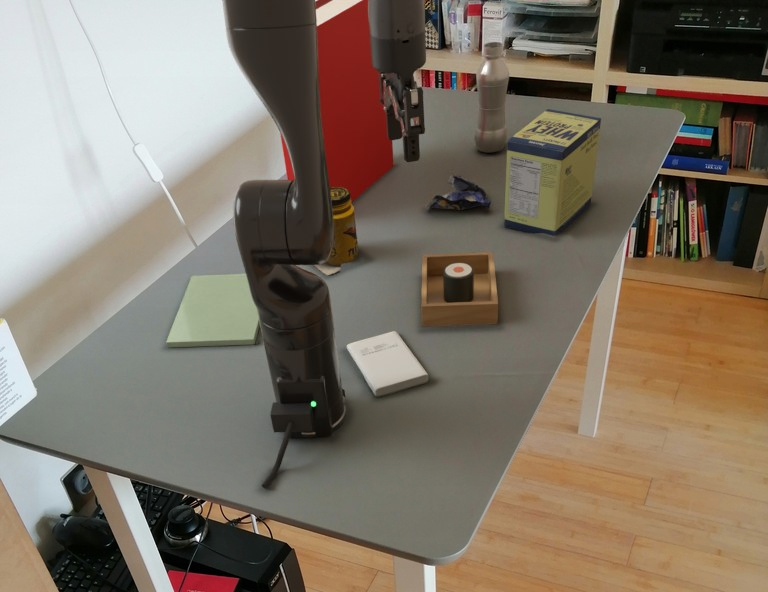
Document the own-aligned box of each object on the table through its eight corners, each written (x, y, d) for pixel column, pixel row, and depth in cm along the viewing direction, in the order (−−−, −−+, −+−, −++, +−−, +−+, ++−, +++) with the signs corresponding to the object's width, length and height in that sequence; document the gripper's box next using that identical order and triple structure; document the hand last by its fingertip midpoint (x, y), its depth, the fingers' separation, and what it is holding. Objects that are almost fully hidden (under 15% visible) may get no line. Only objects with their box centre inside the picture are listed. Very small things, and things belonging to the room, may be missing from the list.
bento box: (497, 327, 126) (498, 303, 123) (422, 330, 127) (421, 306, 124) (492, 275, 137) (492, 251, 134) (423, 278, 138) (422, 254, 135)
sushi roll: (474, 305, 130) (474, 276, 126) (443, 306, 130) (443, 277, 126) (473, 288, 133) (473, 260, 129) (443, 290, 133) (443, 262, 130)
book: (360, 160, 172) (344, -15, 149) (393, 166, 169) (382, -12, 146) (289, 218, 156) (258, 32, 133) (324, 225, 153) (299, 36, 130)
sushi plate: (254, 344, 128) (253, 339, 127) (167, 347, 129) (165, 342, 128) (272, 277, 141) (271, 272, 141) (193, 280, 142) (191, 275, 142)
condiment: (368, 260, 143) (362, 193, 135) (327, 276, 140) (318, 209, 132) (346, 244, 148) (339, 179, 139) (306, 260, 145) (296, 194, 136)
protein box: (592, 203, 152) (602, 116, 141) (555, 240, 143) (563, 151, 132) (541, 192, 156) (547, 107, 145) (502, 227, 148) (505, 140, 137)
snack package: (436, 191, 160) (419, 217, 152) (441, 158, 155) (423, 184, 148) (495, 206, 158) (480, 233, 151) (502, 174, 154) (487, 200, 146)
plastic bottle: (468, 148, 173) (469, 44, 158) (496, 141, 174) (499, 37, 160) (484, 159, 168) (486, 53, 154) (512, 151, 170) (517, 45, 156)
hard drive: (375, 398, 116) (347, 352, 124) (428, 382, 118) (397, 338, 126) (374, 389, 115) (346, 343, 123) (428, 373, 117) (396, 329, 125)
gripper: (356, 17, 114) (366, 136, 125) (384, 47, 104) (392, 173, 116) (408, 9, 115) (413, 128, 126) (440, 37, 105) (442, 163, 117)
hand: (403, 149), depth 121 cm, fingers open, 8 cm apart
